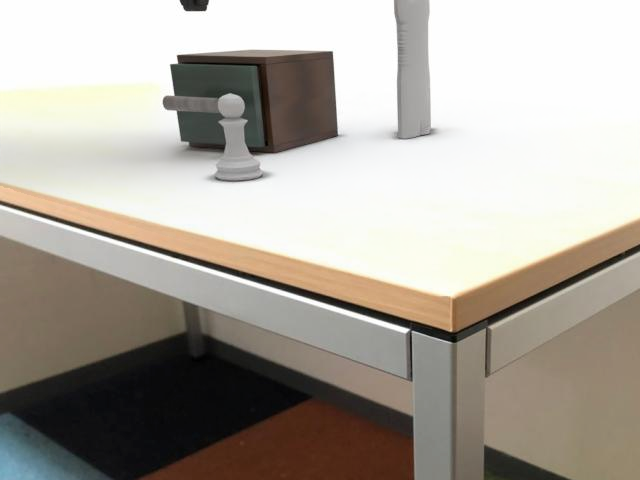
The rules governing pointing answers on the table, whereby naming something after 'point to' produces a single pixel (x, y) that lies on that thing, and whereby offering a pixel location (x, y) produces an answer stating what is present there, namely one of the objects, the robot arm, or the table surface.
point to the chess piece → (235, 143)
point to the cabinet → (287, 94)
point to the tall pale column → (413, 68)
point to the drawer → (216, 101)
